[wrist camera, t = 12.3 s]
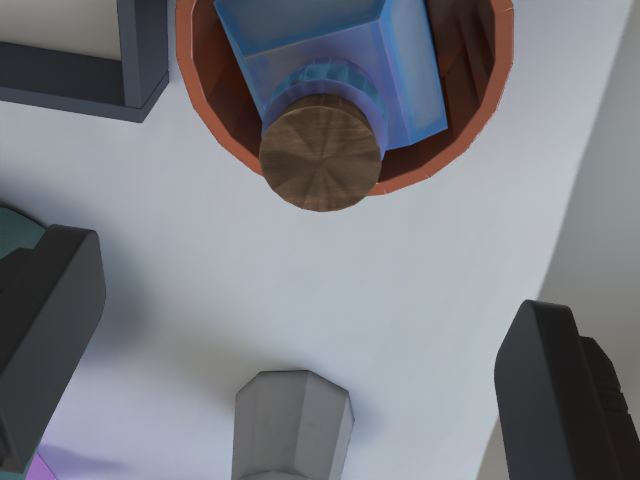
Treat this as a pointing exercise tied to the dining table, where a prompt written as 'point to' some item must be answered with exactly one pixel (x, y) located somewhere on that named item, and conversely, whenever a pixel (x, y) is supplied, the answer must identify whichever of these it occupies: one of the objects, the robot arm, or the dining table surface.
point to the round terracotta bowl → (399, 163)
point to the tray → (95, 70)
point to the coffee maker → (291, 428)
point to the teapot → (39, 470)
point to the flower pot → (4, 237)
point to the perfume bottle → (335, 90)
